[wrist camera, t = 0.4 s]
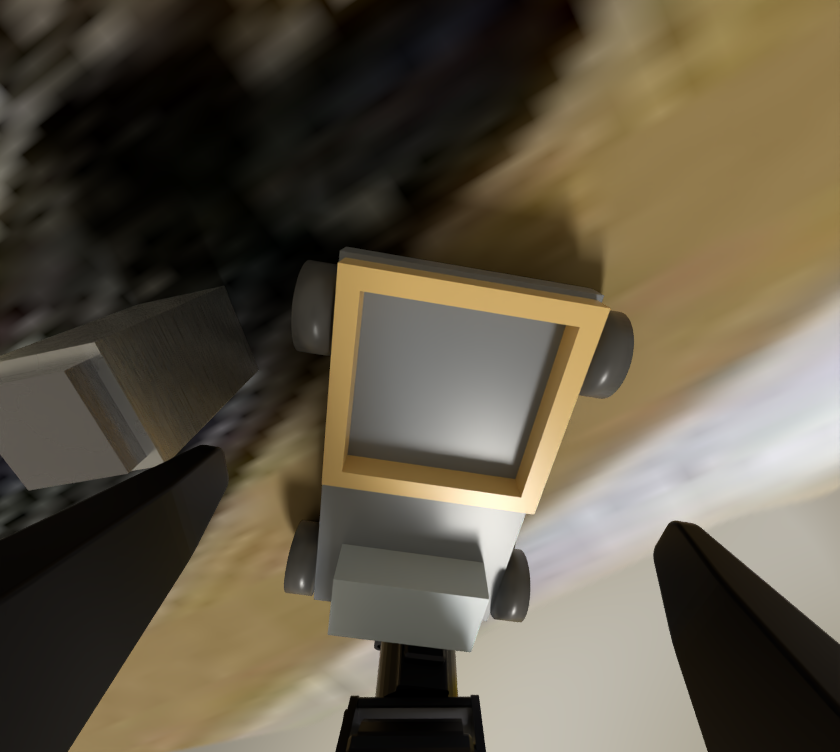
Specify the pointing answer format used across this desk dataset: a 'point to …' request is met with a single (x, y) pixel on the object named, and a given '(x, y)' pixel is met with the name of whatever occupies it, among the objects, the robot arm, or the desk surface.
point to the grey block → (120, 389)
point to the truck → (438, 436)
